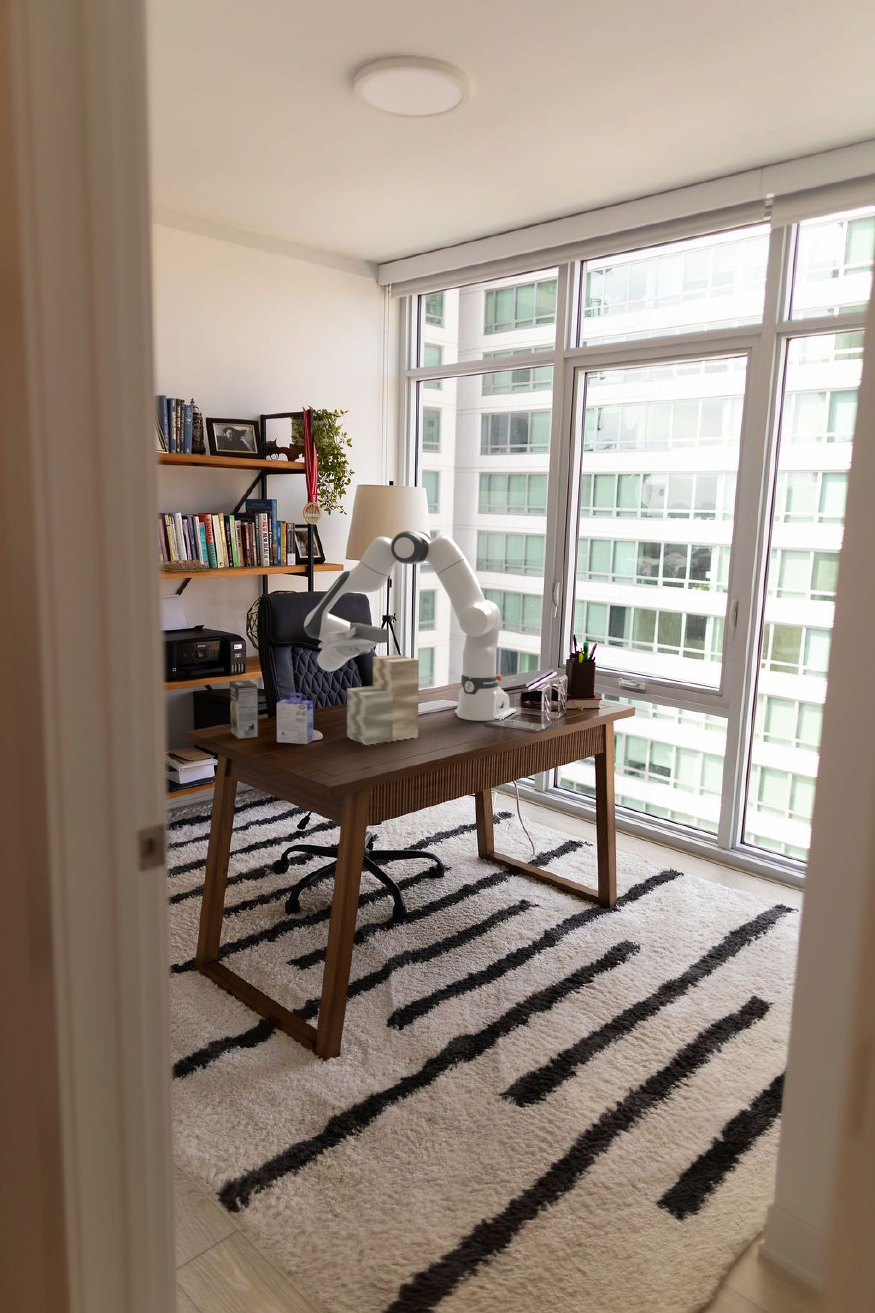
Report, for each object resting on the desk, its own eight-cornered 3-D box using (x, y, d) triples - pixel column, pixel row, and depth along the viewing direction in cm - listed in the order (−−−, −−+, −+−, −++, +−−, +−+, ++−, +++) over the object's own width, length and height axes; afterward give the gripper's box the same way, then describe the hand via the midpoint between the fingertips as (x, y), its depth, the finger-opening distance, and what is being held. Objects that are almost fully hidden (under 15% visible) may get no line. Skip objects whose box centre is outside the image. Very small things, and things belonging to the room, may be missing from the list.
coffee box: (230, 732, 276) (228, 681, 273) (250, 730, 279) (249, 679, 276) (237, 739, 268) (236, 686, 265) (258, 736, 271) (257, 684, 268)
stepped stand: (347, 736, 272) (346, 659, 268) (397, 729, 282) (398, 654, 278) (366, 745, 262) (366, 665, 258) (418, 737, 272) (418, 660, 268)
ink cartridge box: (314, 740, 268) (314, 692, 265) (308, 744, 262) (307, 696, 260) (283, 738, 270) (282, 691, 267) (276, 742, 264) (275, 694, 262)
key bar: (350, 635, 290) (350, 623, 290) (358, 634, 292) (358, 622, 291) (379, 643, 275) (379, 630, 274) (387, 642, 276) (387, 629, 276)
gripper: (313, 639, 293) (330, 622, 282) (368, 635, 304) (386, 618, 293) (318, 657, 291) (335, 640, 280) (373, 652, 302) (391, 636, 291)
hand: (361, 629), depth 286 cm, fingers closed on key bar, 3 cm apart
